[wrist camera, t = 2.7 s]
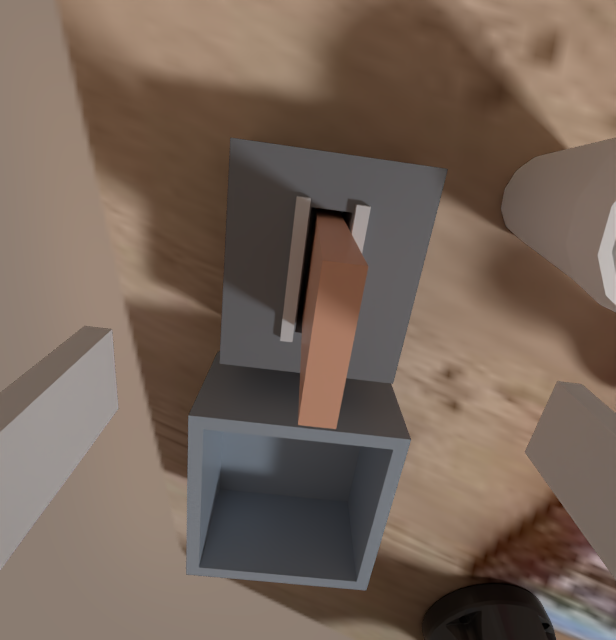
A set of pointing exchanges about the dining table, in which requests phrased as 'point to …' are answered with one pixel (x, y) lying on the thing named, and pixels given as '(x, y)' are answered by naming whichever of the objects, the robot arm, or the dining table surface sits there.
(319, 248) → the terracotta flat slab
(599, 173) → the foam cup
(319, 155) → the dispenser
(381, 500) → the bin
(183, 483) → the dining table surface
